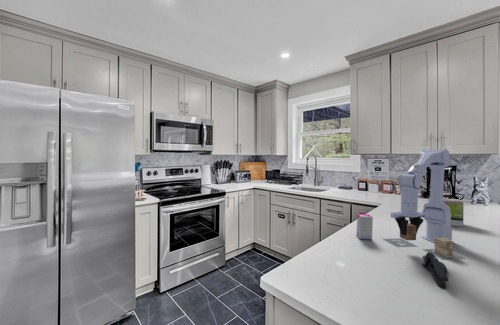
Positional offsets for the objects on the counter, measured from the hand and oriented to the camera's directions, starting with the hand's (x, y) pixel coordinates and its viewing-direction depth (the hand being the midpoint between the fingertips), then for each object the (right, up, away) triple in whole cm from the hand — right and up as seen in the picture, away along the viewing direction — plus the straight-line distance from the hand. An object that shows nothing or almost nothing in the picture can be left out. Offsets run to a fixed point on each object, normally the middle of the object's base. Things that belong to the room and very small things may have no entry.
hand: (408, 234), depth 95 cm
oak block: (+13, -7, -2) cm, 15 cm away
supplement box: (-10, -7, +16) cm, 21 cm away
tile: (+3, -7, +10) cm, 13 cm away
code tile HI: (+13, -8, -2) cm, 15 cm away
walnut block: (0, -2, 0) cm, 2 cm away
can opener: (-4, -8, -19) cm, 21 cm away
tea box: (+52, -7, +42) cm, 67 cm away
